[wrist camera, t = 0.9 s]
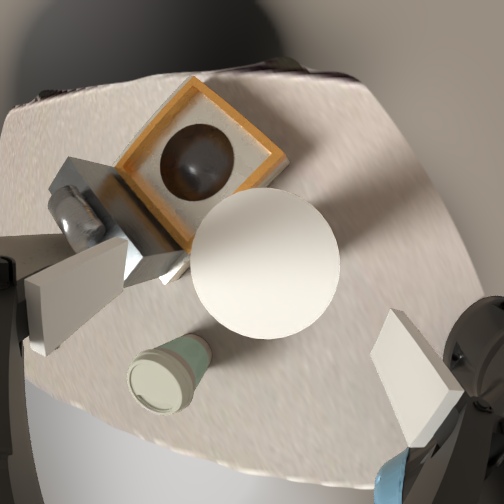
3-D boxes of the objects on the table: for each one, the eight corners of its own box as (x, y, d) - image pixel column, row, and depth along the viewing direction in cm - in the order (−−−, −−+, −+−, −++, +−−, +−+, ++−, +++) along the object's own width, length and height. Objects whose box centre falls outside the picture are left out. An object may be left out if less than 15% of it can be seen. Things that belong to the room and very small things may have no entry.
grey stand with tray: (290, 163, 38) (263, 116, 21) (176, 280, 43) (95, 309, 26) (200, 84, 40) (137, 22, 23) (106, 194, 45) (20, 184, 28)
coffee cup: (158, 352, 45) (113, 384, 33) (185, 312, 43) (140, 339, 31) (201, 388, 44) (166, 430, 32) (232, 351, 42) (200, 391, 30)
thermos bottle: (101, 291, 46) (-47, 334, 19) (77, 255, 47) (-68, 275, 20) (127, 258, 45) (-39, 288, 17) (100, 221, 45) (-58, 224, 18)
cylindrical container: (281, 206, 39) (210, 172, 15) (336, 221, 37) (358, 210, 13) (266, 261, 40) (177, 311, 16) (320, 277, 38) (312, 357, 14)
